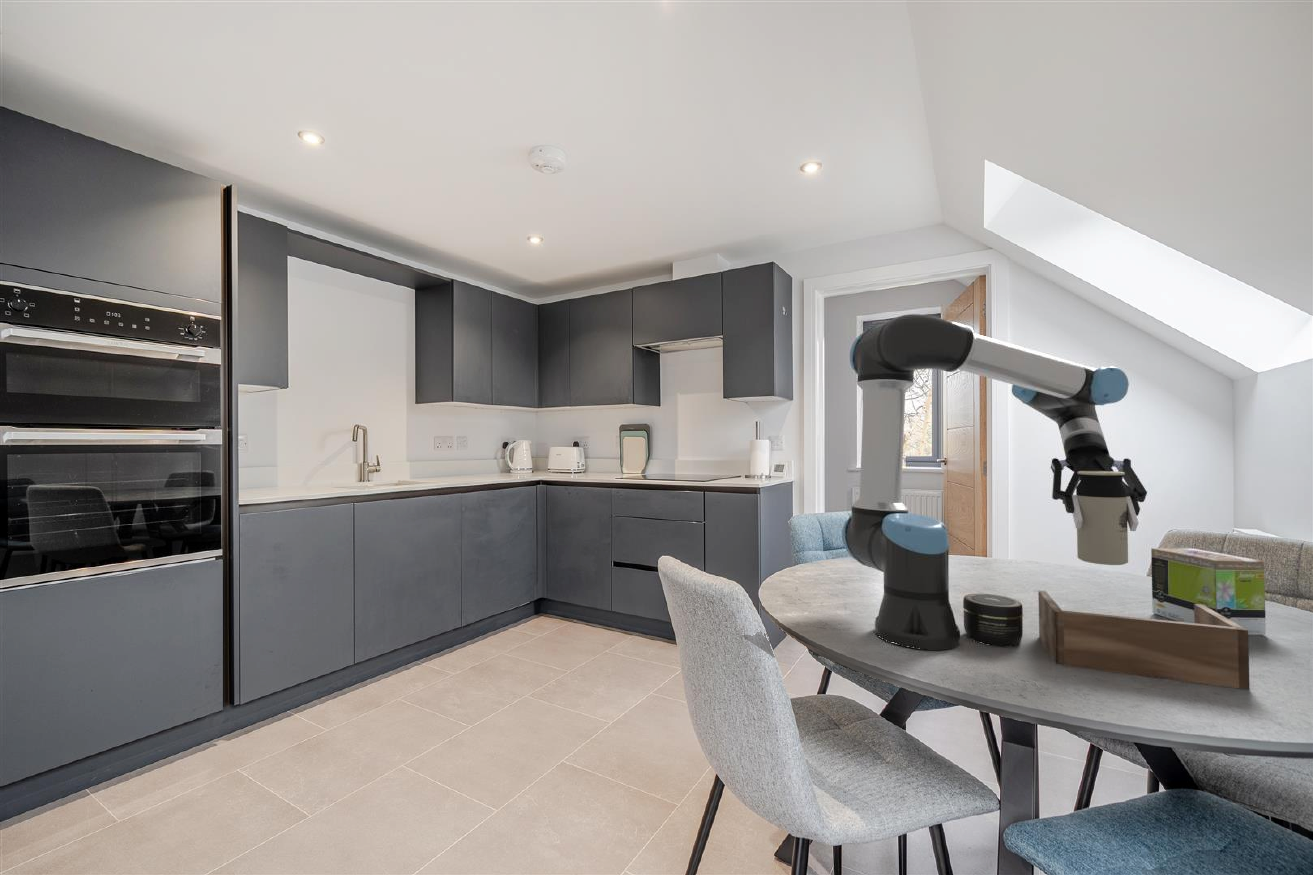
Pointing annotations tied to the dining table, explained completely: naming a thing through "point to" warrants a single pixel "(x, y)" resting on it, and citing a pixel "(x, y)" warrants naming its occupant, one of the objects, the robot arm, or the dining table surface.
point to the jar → (993, 619)
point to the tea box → (1208, 586)
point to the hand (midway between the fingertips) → (1106, 525)
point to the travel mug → (1102, 518)
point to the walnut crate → (1148, 645)
